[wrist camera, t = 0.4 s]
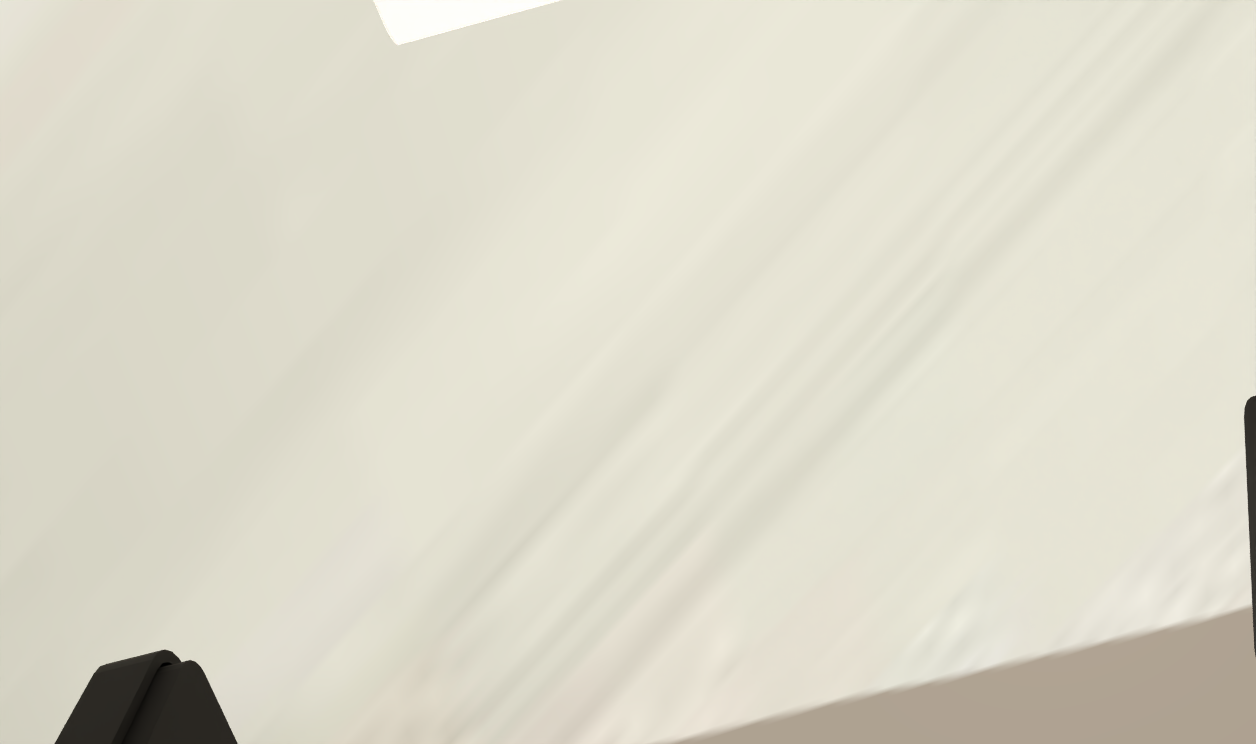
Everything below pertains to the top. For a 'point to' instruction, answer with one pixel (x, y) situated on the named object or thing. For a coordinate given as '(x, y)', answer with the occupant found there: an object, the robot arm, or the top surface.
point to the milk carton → (443, 15)
